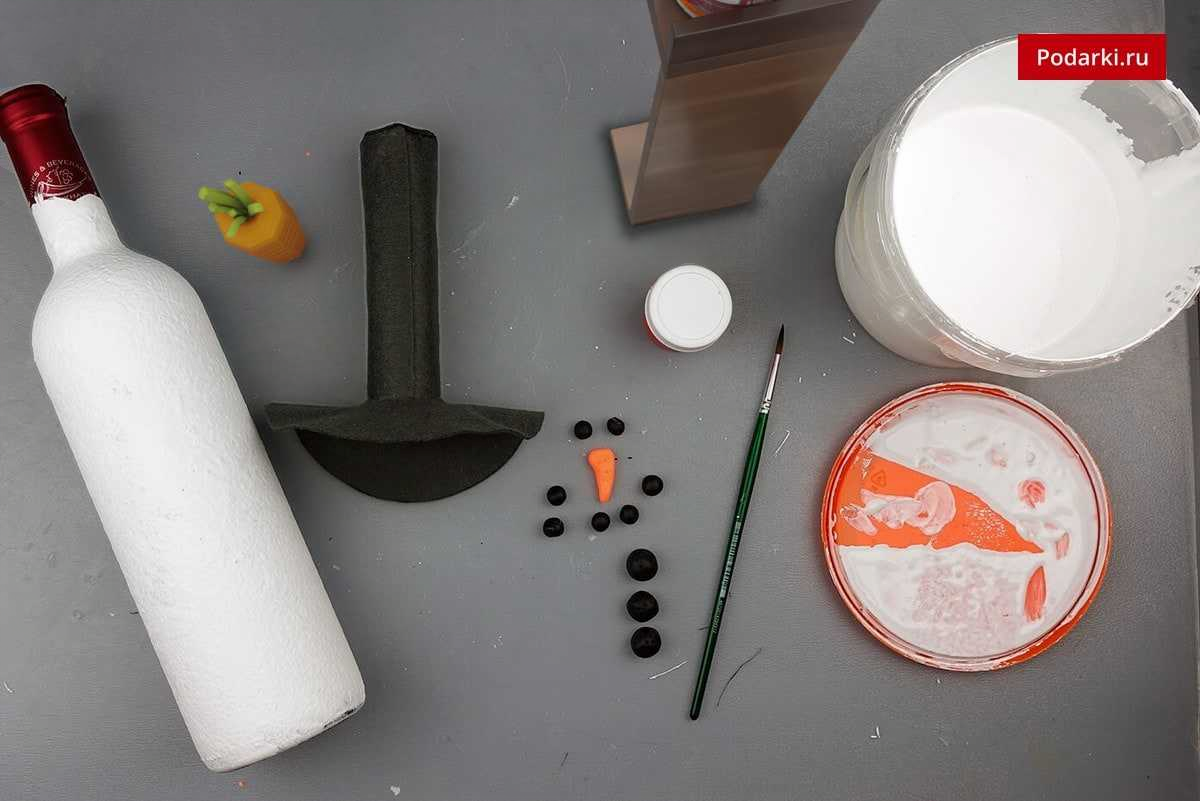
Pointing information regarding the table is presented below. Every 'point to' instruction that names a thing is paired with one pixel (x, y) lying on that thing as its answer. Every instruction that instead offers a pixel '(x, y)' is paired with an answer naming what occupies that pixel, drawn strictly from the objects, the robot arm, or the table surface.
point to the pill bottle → (715, 5)
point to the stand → (717, 133)
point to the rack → (751, 31)
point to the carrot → (256, 220)
